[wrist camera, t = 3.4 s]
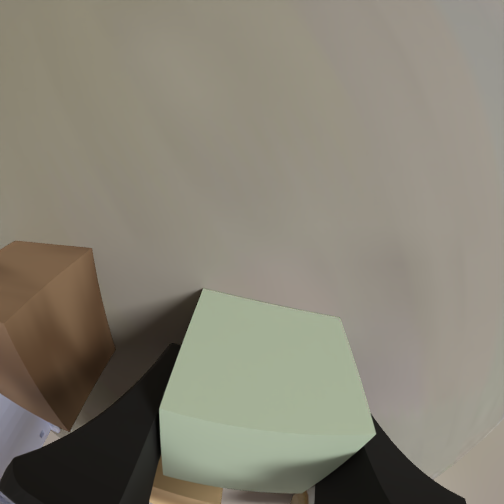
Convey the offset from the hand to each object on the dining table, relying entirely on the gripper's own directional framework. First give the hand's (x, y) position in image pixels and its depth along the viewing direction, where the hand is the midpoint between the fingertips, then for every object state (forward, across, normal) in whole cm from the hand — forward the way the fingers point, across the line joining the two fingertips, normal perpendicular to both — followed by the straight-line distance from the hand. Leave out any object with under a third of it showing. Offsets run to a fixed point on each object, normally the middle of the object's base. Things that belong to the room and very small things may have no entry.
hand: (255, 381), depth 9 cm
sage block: (+1, 0, 0) cm, 1 cm away
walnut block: (+2, +9, 0) cm, 9 cm away
